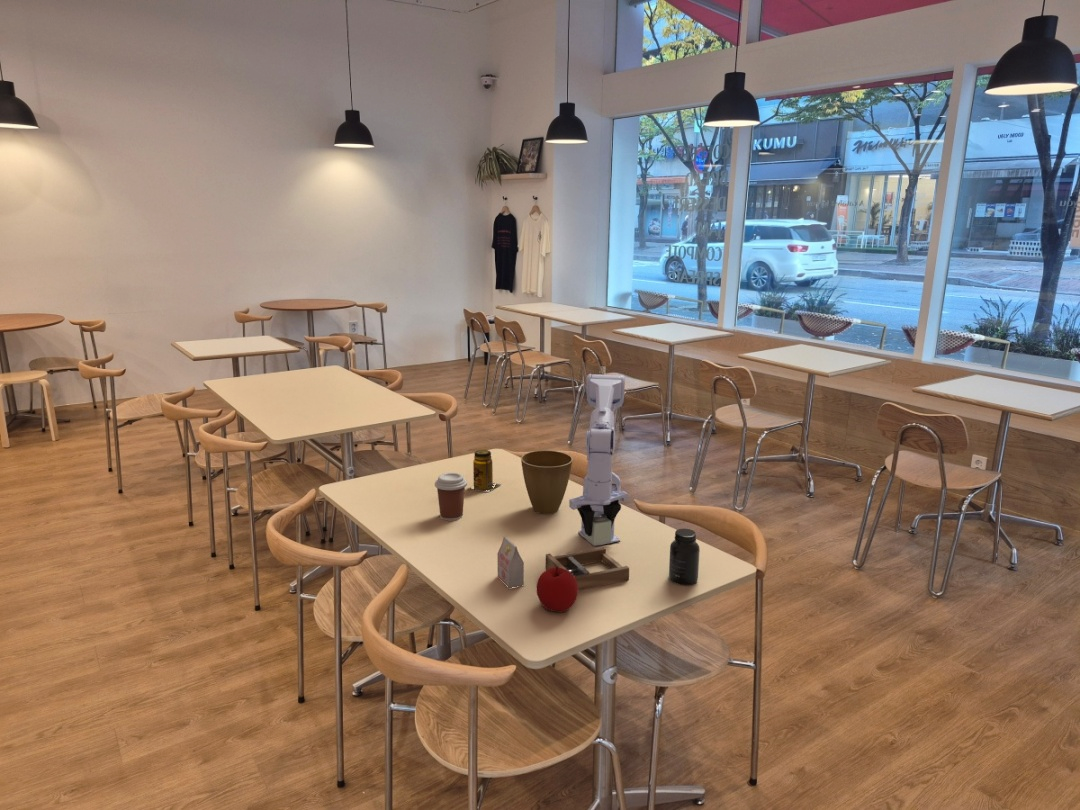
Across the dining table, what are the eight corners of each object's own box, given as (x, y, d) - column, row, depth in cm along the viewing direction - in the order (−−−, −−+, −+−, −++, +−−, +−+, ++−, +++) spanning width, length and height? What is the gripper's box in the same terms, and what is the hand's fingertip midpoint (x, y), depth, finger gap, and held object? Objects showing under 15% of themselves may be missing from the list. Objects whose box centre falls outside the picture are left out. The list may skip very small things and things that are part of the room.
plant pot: (510, 508, 215) (510, 456, 211) (547, 496, 225) (548, 447, 221) (544, 524, 204) (544, 469, 201) (582, 510, 214) (583, 458, 210)
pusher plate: (553, 571, 177) (553, 559, 176) (571, 567, 179) (571, 556, 178) (570, 588, 168) (570, 576, 168) (589, 584, 170) (589, 572, 170)
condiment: (468, 489, 231) (467, 452, 228) (482, 481, 238) (482, 445, 235) (487, 493, 228) (487, 456, 225) (501, 484, 235) (501, 449, 232)
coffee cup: (451, 525, 203) (451, 484, 200) (428, 517, 208) (427, 477, 205) (474, 515, 210) (473, 475, 207) (451, 507, 215) (450, 469, 213)
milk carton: (511, 573, 175) (511, 535, 173) (523, 586, 169) (523, 546, 167) (497, 576, 174) (497, 537, 171) (509, 589, 168) (509, 549, 165)
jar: (585, 537, 175) (585, 513, 174) (601, 534, 177) (602, 511, 175) (593, 544, 171) (594, 520, 170) (610, 541, 173) (611, 517, 171)
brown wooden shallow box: (545, 569, 177) (545, 554, 176) (603, 558, 184) (603, 543, 183) (567, 592, 166) (568, 576, 165) (628, 579, 173) (629, 564, 172)
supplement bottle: (677, 569, 178) (680, 523, 175) (702, 578, 174) (706, 531, 171) (662, 579, 173) (665, 532, 170) (688, 589, 169) (691, 541, 166)
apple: (586, 606, 160) (587, 564, 158) (559, 622, 154) (560, 579, 152) (554, 592, 166) (555, 552, 164) (527, 607, 160) (527, 565, 158)
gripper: (579, 488, 164) (578, 544, 167) (635, 479, 170) (632, 534, 173) (565, 478, 170) (564, 532, 174) (619, 470, 176) (617, 523, 179)
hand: (597, 532), depth 174 cm, fingers closed on jar, 4 cm apart
